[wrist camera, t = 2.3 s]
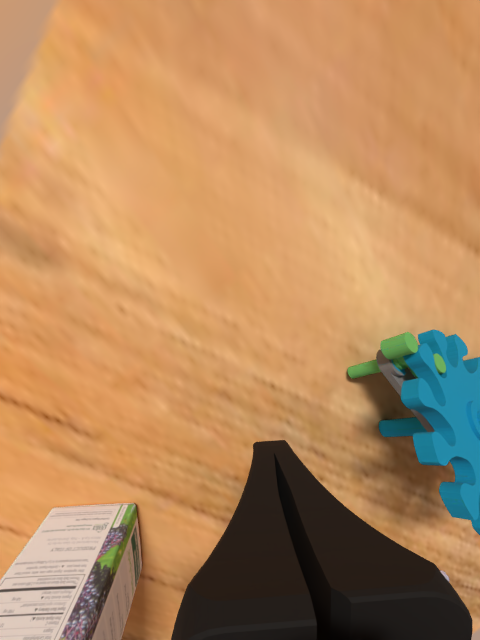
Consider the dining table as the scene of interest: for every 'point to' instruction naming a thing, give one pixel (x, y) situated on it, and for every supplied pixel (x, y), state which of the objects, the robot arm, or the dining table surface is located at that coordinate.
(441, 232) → the dining table surface
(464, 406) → the gear
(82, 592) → the syrup box
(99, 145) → the dining table surface
